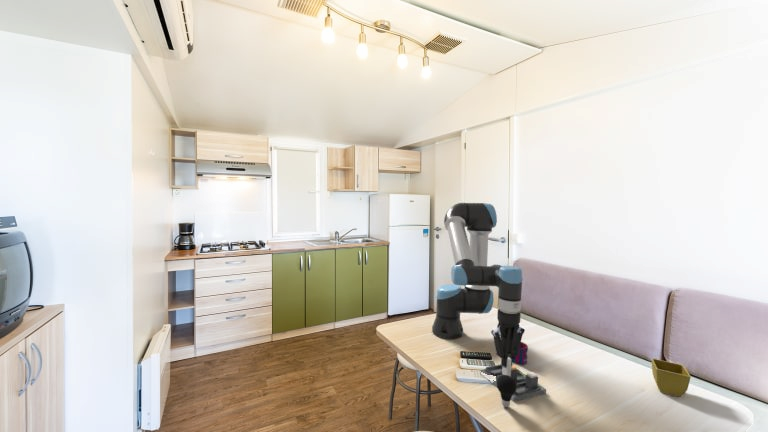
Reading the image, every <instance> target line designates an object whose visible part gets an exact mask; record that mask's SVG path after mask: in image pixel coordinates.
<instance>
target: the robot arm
mask: <svg viewBox="0 0 768 432" xmlns="http://www.w3.org/2000/svg"><path fill="white" fill-rule="evenodd" d="M497 218H498V216H497V211H496V209H495V206H494V205H493V204H491V203H485V202H481V203H480V202H458V203H456V204H454V205H452V206H450V208H448V210H447V211H446V213H445V216H444V220H443V223H444V228H445V229H446V231H447V232H448V238H449V242H450V247H451V251H452V256H453V262H454V265H453V266H451V271H450V275H451V276H450V277H451V282H452V283H453V284H444V285H441V286H439V287H438V288H437V290H436V297H435V298H436V309H435V311H436V312H435V314H436V315H435V318H434V320H433V324H432V328H431V329H432V330H431V333H432V334H433V335H434V336H436V337H439V338H442V339H445V340H447V339H448V340H456V339H460V338H462V337H463V336H464V328H463V324H462V321H461V314H479V315H481V314H488V313H491V311H492V308H493V306H494V300H495V299H494V292H493V290H492V289H490V287H497V288H498V293H497V294H498V296H497V308H498V309H497V321H498V324H497V326H496V329H495V330H493V329H491V330H490V332H491V334H492V336H493V342H494V347H495V353H496V356H498V357H499V358H500V362H501V363H500V364H501V366H502V374H503V375H508V376H510V377H511V366H512V365H513V364H514V363H513V359H515V357H514V356H517V355H518V352H519V347H520V343H521V342H522V338H523V335H524V333H525V331H526V329H524V328H523V327H521V326H520V323H521V310H522V289H523V288H522V287H523V279H524V278H523V270H522V268H520V267H519V266H514V265H500V264H492V265H490V266H489V265H488V256H489V255H488V249H489V235H490V234H491V233H492V231H493V229H494V228H496V226H497V223H498V221H497V220H498V219H497ZM465 228H466V229H465ZM466 230H467V232H468V233H469V239H468V235H467V233H466ZM461 286H462V287H463V286H464V288H462V287H461ZM514 350H515V351H514Z"/></svg>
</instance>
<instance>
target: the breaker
mask: <svg viewBox="0 0 768 432" xmlns="http://www.w3.org/2000/svg"><path fill="white" fill-rule="evenodd" d="M525 375H526V382H525V386H527V387H528V388H529V389H533V388H537V387H538V384H539V376H538V374H537V373H535V372H533V371H531V372H527V373H526V374H525Z"/></svg>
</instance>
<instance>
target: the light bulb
mask: <svg viewBox="0 0 768 432" xmlns="http://www.w3.org/2000/svg"><path fill="white" fill-rule="evenodd" d="M496 388H497V390H498V391H499V393H500V397H501V405H502V406H503V407H504V408H509V407H510V405H511V401H512V400H511V397H512V395H513V394H514V393H515V392H516V383H515V381H514V379H513V378H512V377H510V376H508V375H502V376H500V377H499V378H498V379H497V387H496Z"/></svg>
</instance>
